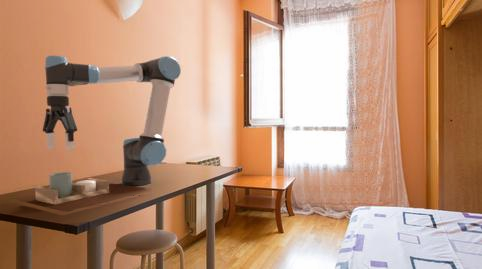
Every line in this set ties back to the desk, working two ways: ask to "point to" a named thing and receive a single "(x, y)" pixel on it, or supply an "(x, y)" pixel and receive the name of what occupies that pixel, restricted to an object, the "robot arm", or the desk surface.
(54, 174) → the cup
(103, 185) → the rack
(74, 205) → the desk surface
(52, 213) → the desk surface
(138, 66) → the robot arm
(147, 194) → the desk surface
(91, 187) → the white rounded piece
